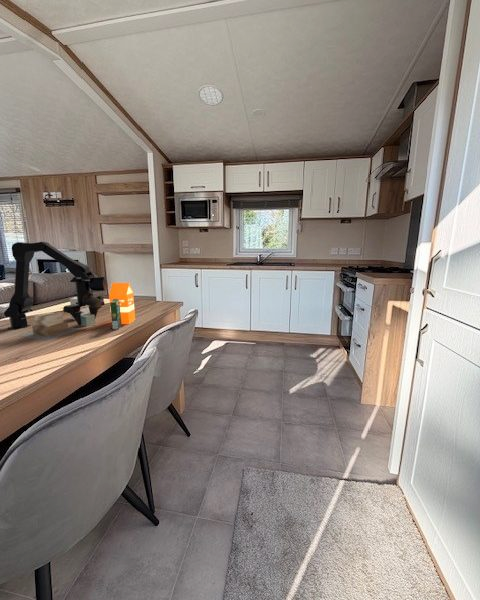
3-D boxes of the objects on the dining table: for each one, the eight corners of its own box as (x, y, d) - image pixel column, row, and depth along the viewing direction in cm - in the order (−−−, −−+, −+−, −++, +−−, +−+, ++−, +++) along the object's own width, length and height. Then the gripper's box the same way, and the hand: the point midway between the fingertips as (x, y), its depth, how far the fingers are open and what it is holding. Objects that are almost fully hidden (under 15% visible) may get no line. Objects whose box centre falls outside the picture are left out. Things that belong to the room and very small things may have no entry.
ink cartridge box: (84, 316, 147) (81, 289, 144) (92, 316, 146) (89, 290, 143) (71, 320, 139) (68, 292, 136) (80, 320, 138) (76, 292, 135)
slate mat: (19, 337, 112) (18, 336, 112) (55, 326, 127) (55, 325, 127) (47, 341, 108) (46, 340, 107) (81, 329, 123) (81, 328, 122)
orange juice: (129, 324, 132) (125, 283, 128) (111, 324, 132) (107, 283, 128) (135, 320, 139) (132, 281, 136) (118, 319, 140) (115, 281, 136)
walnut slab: (33, 334, 114) (32, 325, 114) (53, 328, 123) (52, 320, 122) (49, 336, 112) (47, 327, 111) (68, 330, 120) (67, 321, 119)
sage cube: (78, 326, 129) (77, 316, 128) (87, 323, 133) (86, 313, 132) (87, 327, 127) (85, 316, 126) (95, 324, 132) (94, 314, 131)
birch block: (36, 325, 114) (34, 316, 114) (51, 321, 121) (50, 312, 120) (48, 326, 112) (46, 317, 112) (63, 322, 119) (62, 313, 118)
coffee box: (118, 329, 123) (116, 301, 120) (112, 330, 122) (109, 302, 119) (122, 325, 130) (119, 298, 128) (115, 325, 130) (113, 298, 127)
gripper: (79, 295, 116) (83, 329, 119) (111, 289, 133) (114, 319, 136) (60, 294, 119) (64, 327, 122) (94, 288, 137) (97, 317, 140)
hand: (87, 322), depth 130 cm, fingers open, 8 cm apart
